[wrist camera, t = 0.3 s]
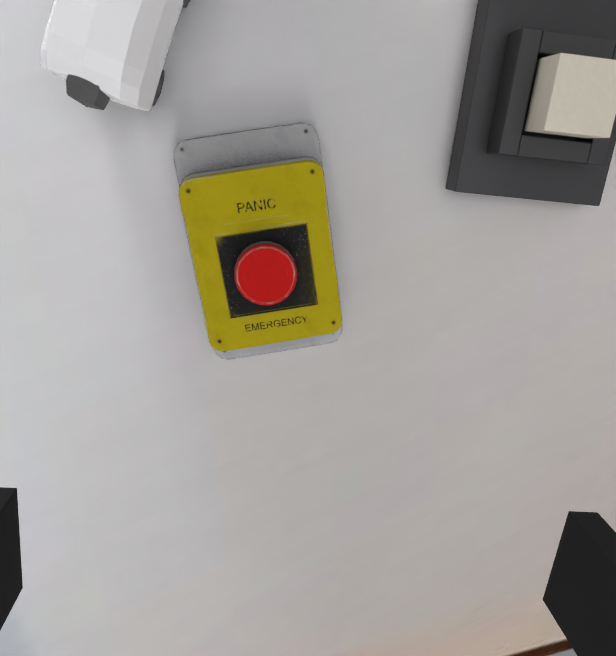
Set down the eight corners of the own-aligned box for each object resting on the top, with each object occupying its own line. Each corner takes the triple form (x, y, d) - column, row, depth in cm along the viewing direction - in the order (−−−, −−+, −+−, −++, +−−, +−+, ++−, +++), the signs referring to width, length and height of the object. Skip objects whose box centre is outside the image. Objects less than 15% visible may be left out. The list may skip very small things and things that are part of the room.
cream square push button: (538, 58, 33) (560, 52, 31) (602, 67, 33) (629, 61, 31) (523, 131, 34) (543, 130, 32) (585, 138, 35) (610, 138, 32)
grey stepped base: (479, -11, 35) (507, -29, 31) (630, 11, 36) (674, -5, 32) (445, 188, 38) (465, 194, 35) (583, 202, 40) (617, 209, 36)
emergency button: (211, 383, 37) (160, 142, 32) (216, 358, 41) (171, 142, 36) (352, 360, 37) (322, 118, 32) (342, 338, 41) (315, 120, 36)
